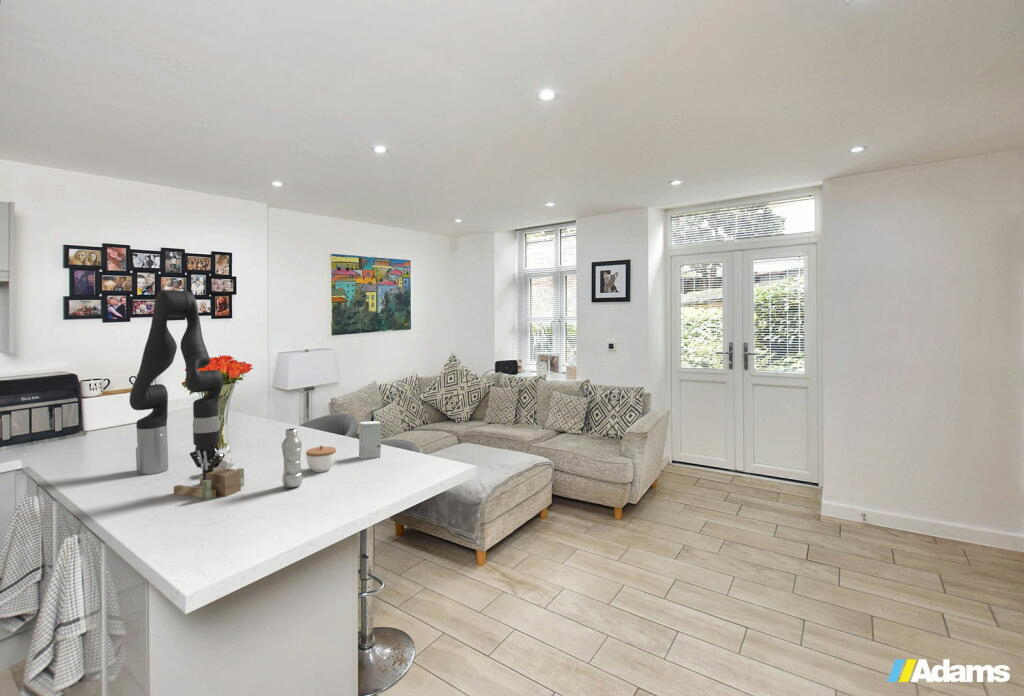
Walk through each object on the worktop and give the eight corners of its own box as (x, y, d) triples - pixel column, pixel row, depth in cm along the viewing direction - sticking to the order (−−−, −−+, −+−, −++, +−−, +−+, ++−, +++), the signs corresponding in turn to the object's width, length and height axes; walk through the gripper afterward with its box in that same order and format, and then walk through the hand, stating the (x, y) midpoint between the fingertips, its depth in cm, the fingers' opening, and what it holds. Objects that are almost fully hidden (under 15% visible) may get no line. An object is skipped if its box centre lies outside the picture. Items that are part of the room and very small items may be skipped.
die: (213, 480, 172) (231, 457, 175) (196, 467, 174) (214, 444, 176) (226, 481, 180) (243, 459, 183) (209, 469, 181) (226, 447, 184)
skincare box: (361, 459, 196) (360, 424, 195) (358, 456, 201) (358, 421, 201) (381, 457, 200) (381, 422, 199) (378, 453, 205) (378, 419, 204)
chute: (169, 495, 155) (168, 477, 155) (208, 481, 169) (207, 465, 168) (207, 500, 151) (206, 481, 150) (244, 485, 164) (243, 468, 164)
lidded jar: (316, 475, 175) (315, 450, 175) (301, 470, 182) (300, 446, 181) (341, 468, 184) (341, 445, 183) (326, 464, 190) (326, 441, 190)
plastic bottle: (282, 491, 159) (281, 432, 158) (282, 485, 165) (280, 428, 164) (303, 488, 162) (302, 430, 161) (302, 482, 168) (300, 426, 167)
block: (206, 494, 156) (205, 473, 156) (222, 488, 162) (221, 468, 161) (225, 496, 154) (224, 475, 154) (240, 490, 160) (240, 470, 159)
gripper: (180, 430, 157) (182, 482, 158) (212, 433, 153) (213, 485, 154) (201, 426, 164) (202, 475, 165) (231, 428, 160) (233, 478, 161)
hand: (208, 480), depth 159 cm, fingers closed
